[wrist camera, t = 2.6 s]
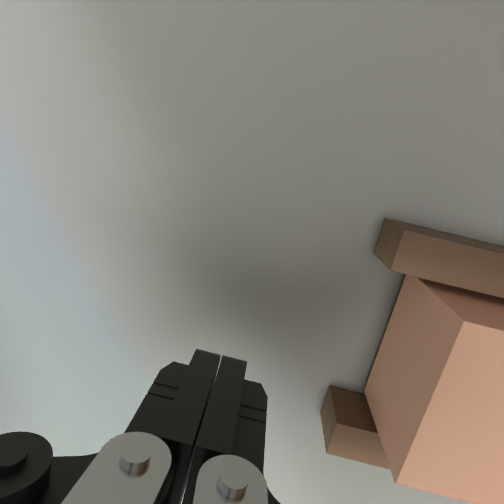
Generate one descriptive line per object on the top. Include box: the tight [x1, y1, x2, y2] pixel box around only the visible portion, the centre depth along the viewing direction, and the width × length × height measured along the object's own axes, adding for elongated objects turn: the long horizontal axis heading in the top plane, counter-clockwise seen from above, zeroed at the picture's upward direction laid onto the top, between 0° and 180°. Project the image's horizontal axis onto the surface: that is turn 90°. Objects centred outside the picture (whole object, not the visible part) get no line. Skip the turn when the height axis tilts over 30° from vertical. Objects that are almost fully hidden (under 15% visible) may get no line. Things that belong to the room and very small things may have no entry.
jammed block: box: [364, 275, 504, 504], centre depth 14 cm, size 6×7×5 cm
